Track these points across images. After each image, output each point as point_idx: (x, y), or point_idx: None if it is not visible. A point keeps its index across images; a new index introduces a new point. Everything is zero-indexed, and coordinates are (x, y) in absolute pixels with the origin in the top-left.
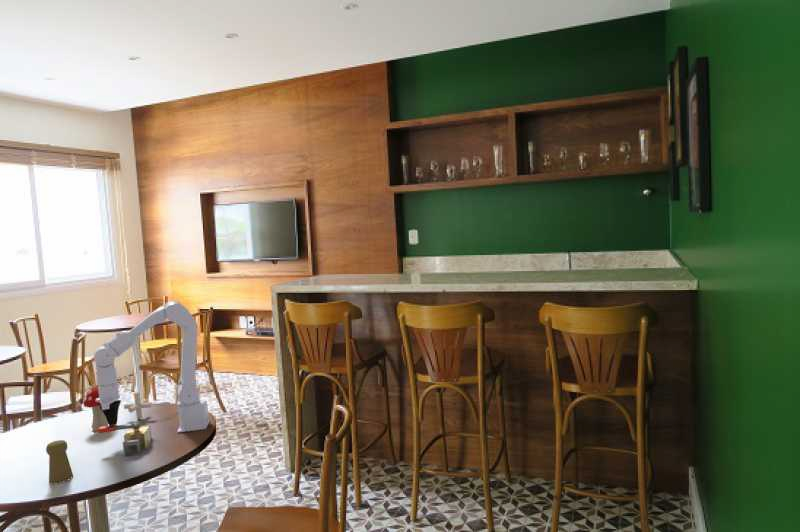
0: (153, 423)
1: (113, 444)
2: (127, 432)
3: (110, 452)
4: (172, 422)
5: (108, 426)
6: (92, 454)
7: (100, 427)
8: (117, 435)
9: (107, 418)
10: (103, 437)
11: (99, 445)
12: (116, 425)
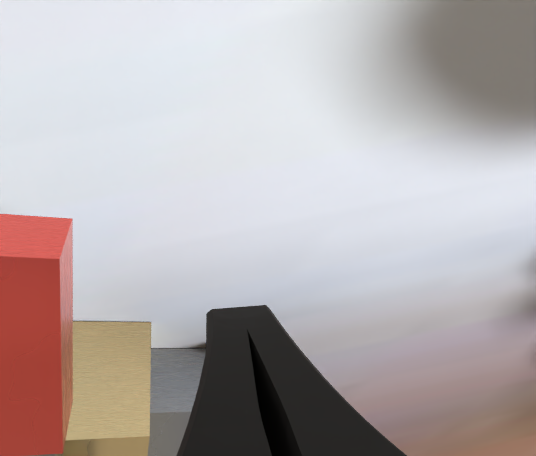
0: (527, 352)
1: (242, 179)
2: None
3: (17, 198)
4: (450, 440)
5: (25, 375)
6: (23, 17)
7: (15, 271)
8: (468, 166)
9: (202, 403)
10: (515, 44)
11: (294, 46)
12: (44, 449)
